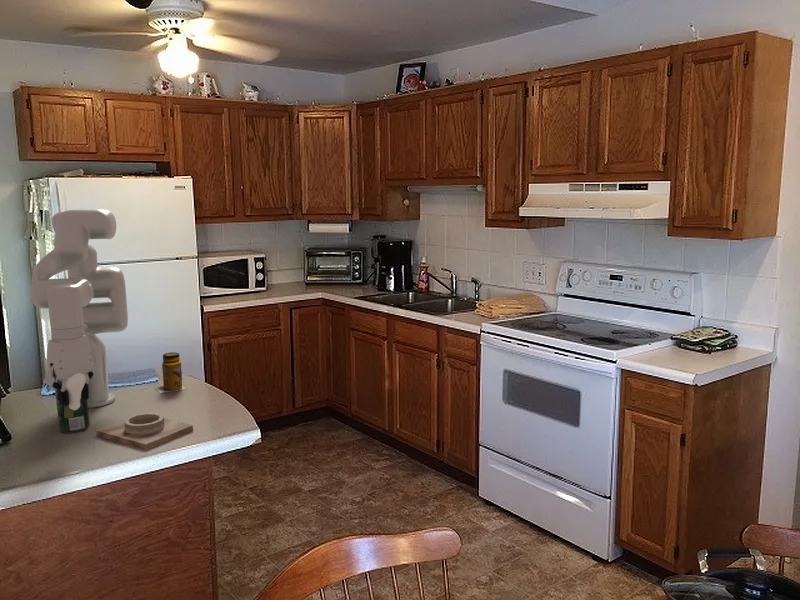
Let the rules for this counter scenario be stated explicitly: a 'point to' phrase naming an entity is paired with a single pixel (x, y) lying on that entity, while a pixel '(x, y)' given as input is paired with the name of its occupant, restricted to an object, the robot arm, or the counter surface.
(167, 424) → the socket board
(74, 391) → the lightbulb
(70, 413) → the coffee jar
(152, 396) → the counter surface
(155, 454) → the counter surface
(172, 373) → the condiment
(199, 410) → the counter surface
